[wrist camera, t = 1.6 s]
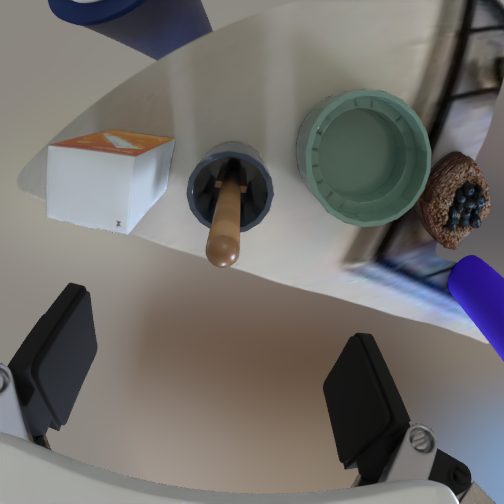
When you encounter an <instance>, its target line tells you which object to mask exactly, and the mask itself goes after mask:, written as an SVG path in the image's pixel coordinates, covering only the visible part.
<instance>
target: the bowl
mask: <svg viewBox="0 0 504 504" xmlns="http://www.w3.org/2000/svg"><path fill="white" fill-rule="evenodd" d="M296 154H297V166H298V168H299V171H300V173H301V176H302V179H303V181H304V183H305V185H306V186H307V187H308V188H309V190H310V191H311V192H312V193H313V195H314V196H315V197H316V198H317V200H318V201H319V202H320V203H321V205H322V206H323V207H324V208H325V210H326V211H327V212H328V213H330V214H332V215H333V216H335V217H336V218H338V219H339V220H341V221H342V222H344V223H348V224H352V225H356V226H360V227H369V226H381V225H384V224H386V223H388V222H391V221H393V220H395V219H398V218H399V217H401V216H402V215H403V214H404V213H405V212H407V211H408V210H409V209H410V208H411V207H413V206H414V204H415V203H416V201H417V200H418V198H419V197H420V195H421V194H422V192H423V191H424V189H425V186H426V183H427V180H428V177H429V174H430V168H431V148H430V143H429V139H428V135H427V131H426V129H425V127H424V125H423V124H422V122H421V120H420V118H419V117H418V115H417V114H416V112H415V111H414V110H413V109H411V108H410V107H409V106H408V105H407V104H406V103H405V102H404V101H403V100H401V99H400V98H398V97H396V96H393V95H391V94H389V93H387V92H384V91H379V90H366V89H360V90H352V91H344V92H341V93H338V94H335V95H331V96H328V97H326V98H325V99H324V100H322V101H321V102H320V103H318V104H317V105H316V106H315V107H313V108H312V109H311V111H310V112H309V114H308V115H307V117H306V118H305V120H304V121H303V123H302V124H301V127H300V131H299V135H298V139H297V143H296Z"/></svg>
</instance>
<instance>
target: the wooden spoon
mask: <svg viewBox="0 0 504 504" xmlns="http://www.w3.org/2000/svg"><path fill="white" fill-rule="evenodd" d="M215 187H216V188H220V192H219V196H218V200H217V204H216V208H215V212H214V216H213V220H212V224H211V228H210V232H209V236H208V241H207V245H206V256H207V258H208V260H209V261H210V262H211V263H212V264H213V265H215V266H217V267H221V268H224V267H229V266H231V265H232V264H234V263H235V262H236V261H237V259H238V257H239V253H240V192H242V193H246V190H247V176H246V175H243V174H239V173H237V172H236V171H223V170H219V173H218V176H217V179H216V182H215Z"/></svg>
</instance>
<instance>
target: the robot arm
mask: <svg viewBox="0 0 504 504" xmlns="http://www.w3.org/2000/svg"><path fill="white" fill-rule="evenodd" d="M73 1H75V2H78V3H93V2H97V1H101V0H73ZM96 352H97V341H96V335H95V328H94V321H93V314H92V306H91V298H90V293H89V292H88V291H86V288H85V287H84V286H82V285H78V284H74V283H69V284H68V285H67V286H66V288H65V289H64V290H63V291H62V293H61V294H60V295H59V296H58V298H57V299H56V300H55V302H54V303H53V304H52V305H51V307H50V308H49V309H48V311H47V312H46V314H44V315H43V316H42V317H41V318H40V319H39V320H38V322H37V323H36V325H35V326H34V327H33V329H32V330H31V332H30V333H29V335H28V336H27V337H26V339H25V340H24V342H23V343H22V345H21V347H20V348H19V349H18V351H17V352H16V354H15V355H14V357H13V358H12V360H11V361H10V363H9V365H8V366H5V365H4V364H2V363H0V504H496V503H495V502H494V501H493V500H492V499H491V498H490V497H489V496H488V495H487V494H486V493H485V492H484V491H483V490H482V489H481V488H480V487H479V486H478V485H477V484H476V483H475V482H472V483H471V473H470V470H469V469H468V467H467V466H466V465H465V464H463V463H462V462H460V461H458V460H457V459H455V458H453V457H451V456H450V455H448V454H446V453H444V452H443V451H441V450H439V449H438V448H437V447H438V441H437V437H436V435H435V433H434V432H433V431H432V429H431V428H429V427H428V426H426V425H423V424H413V425H412V426H410V424H409V422H410V421H411V420H410V418H409V415H408V413H407V411H406V408H405V406H404V403H403V401H402V399H401V396H400V394H399V392H398V390H397V387H396V385H395V383H394V381H393V378H392V376H391V374H390V372H389V369H388V367H387V365H386V363H385V361H384V359H383V356H382V354H381V352H380V350H379V348H378V346H377V344H376V342H375V340H374V337H373V336H372V335H371V334H366V333H356V334H355V335H354V336H352V337H350V338H349V340H348V342H347V344H346V346H345V347H344V349H343V351H342V353H341V354H340V356H339V358H338V360H337V362H336V363H335V365H334V366H333V368H332V370H331V371H330V373H329V375H328V376H327V378H326V380H325V382H324V384H323V391H324V395H325V400H326V403H327V408H328V412H329V417H330V421H331V425H332V429H333V434H334V438H335V442H336V447H337V452H338V456H339V460H340V462H341V463H343V464H344V469H352V468H358V471H359V474H358V476H357V477H356V479H355V481H354V482H353V484H352V486H351V487H350V488H346V489H338V490H330V491H320V492H308V493H289V494H247V493H246V494H245V493H228V492H215V491H206V490H198V489H190V488H183V487H177V486H170V485H166V484H160V483H155V482H150V481H146V480H141V479H137V478H133V477H129V476H125V475H122V474H118V473H115V472H111V471H108V470H105V469H101V468H98V467H95V466H92V465H89V464H86V463H83V462H80V461H77V460H75V459H72V458H69V457H67V456H64V455H61V454H59V453H56V452H54V451H52V450H51V448H50V445H49V443H48V440H47V437H46V432H47V430H48V427H50V428H52V429H55V430H57V431H59V430H60V427H61V425H65V424H66V423H67V420H68V418H69V415H70V413H71V410H72V408H73V405H74V403H75V401H76V398H77V396H78V393H79V391H80V389H81V386H82V384H83V382H84V379H85V377H86V375H87V373H88V371H89V368H90V366H91V364H92V362H93V360H94V357H95V355H96Z"/></svg>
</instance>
